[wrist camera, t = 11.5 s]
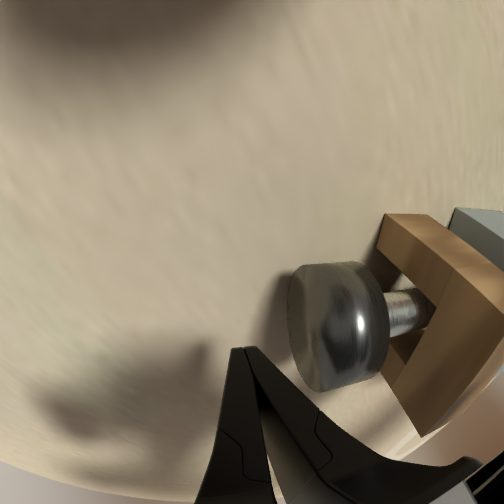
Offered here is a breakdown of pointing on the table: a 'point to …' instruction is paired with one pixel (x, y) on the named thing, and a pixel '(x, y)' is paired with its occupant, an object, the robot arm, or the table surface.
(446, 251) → the block
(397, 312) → the shaft
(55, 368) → the table surface
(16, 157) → the table surface
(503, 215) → the block
